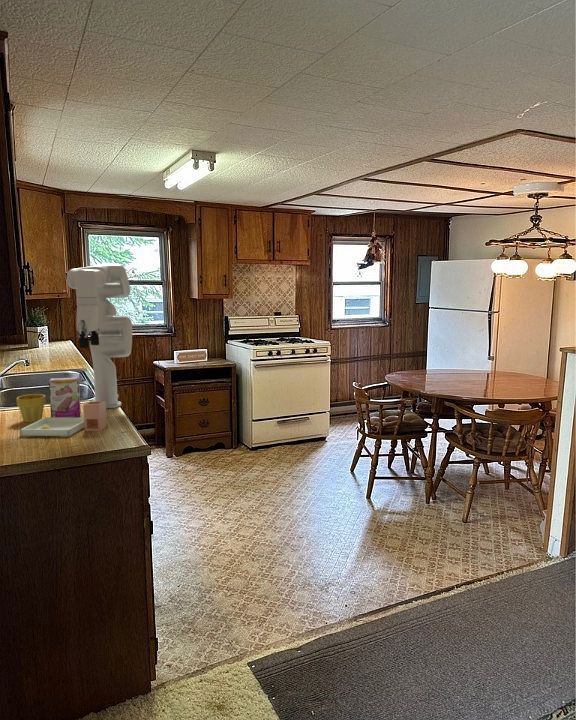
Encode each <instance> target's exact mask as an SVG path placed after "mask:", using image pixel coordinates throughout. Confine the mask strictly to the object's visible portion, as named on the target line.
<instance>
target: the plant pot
mask: <svg viewBox="0 0 576 720" xmlns="http://www.w3.org/2000/svg"><path fill="white" fill-rule="evenodd" d="M46 401H47V399H46V395H45V394H40V393H35V394H34V393H33V394H32V393H31V394H23V395H20V396H17V397H16V405H17V407H18V408H19V411H20V414H21V417H22V421H23V422H25V423H35V422H37V421H39V420H41V419H43V415H44V414H43V413H44V407H45V405H46V403H47V402H46Z"/></svg>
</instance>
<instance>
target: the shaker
mask: <svg viewBox="0 0 576 720" xmlns="http://www.w3.org/2000/svg"><path fill="white" fill-rule="evenodd" d="M82 408H83V409H82V410H83V418H84V427H85V428H84V432H101V431H103V430H105V429H106V428H107V427H108V421H107V409H106V401H95V400H89V401H88V402H86V403H83V404H82ZM106 426H107V427H106ZM105 427H106V428H105ZM102 429H103V430H102Z"/></svg>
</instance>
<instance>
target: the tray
mask: <svg viewBox="0 0 576 720" xmlns="http://www.w3.org/2000/svg"><path fill="white" fill-rule="evenodd" d="M45 425H47V426H49V427H50V429H41V428H42V427H43V426H45ZM81 429H82V430H84V429H85V427H84V417H80V418H65V417H51V416H50V417H48V416H47V417H46V416H45V417H42V419H41V420H39V421H36V422H32V423H31V424H28V425H27V426H25V427H22V428H21V429H20V428H19V436H20V437H30V436H46V437H47V436H60V437H62V438H65V437H66V438H69V437H72V436H74V435H76V433H78V432H79V431H81ZM60 437H59V438H60Z"/></svg>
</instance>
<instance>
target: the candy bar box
mask: <svg viewBox="0 0 576 720" xmlns="http://www.w3.org/2000/svg"><path fill="white" fill-rule="evenodd" d="M48 385H49V387H48V388H49V407H50V417H65V418H81V417H80V416H82V409H81V407H82V406H81V392H80V391H81V387H80V377H57V378H56V377H55V378H49V380H48Z"/></svg>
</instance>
